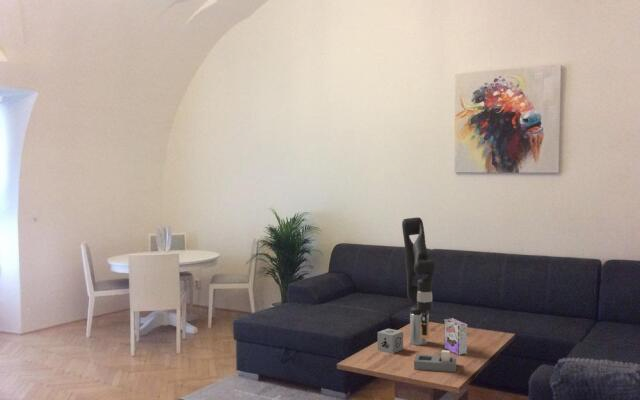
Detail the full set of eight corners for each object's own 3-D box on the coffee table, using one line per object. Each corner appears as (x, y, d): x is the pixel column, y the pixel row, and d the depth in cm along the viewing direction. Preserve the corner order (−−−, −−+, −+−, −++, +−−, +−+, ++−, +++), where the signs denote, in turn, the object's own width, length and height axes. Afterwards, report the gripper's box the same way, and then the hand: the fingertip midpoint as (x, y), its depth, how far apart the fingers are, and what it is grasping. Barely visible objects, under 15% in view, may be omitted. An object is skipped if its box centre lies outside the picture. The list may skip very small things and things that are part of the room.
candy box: (443, 348, 320) (443, 318, 319) (453, 347, 322) (452, 317, 321) (458, 355, 307) (458, 324, 306) (467, 354, 309) (467, 323, 308)
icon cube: (388, 345, 326) (388, 328, 326) (403, 349, 319) (402, 331, 319) (377, 350, 319) (377, 332, 318) (392, 353, 312) (392, 335, 311)
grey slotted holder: (416, 361, 298) (416, 346, 298) (456, 364, 293) (456, 348, 293) (414, 369, 287) (414, 353, 286) (455, 372, 281) (455, 355, 281)
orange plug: (421, 335, 293) (421, 322, 293) (429, 336, 292) (429, 322, 292) (420, 338, 289) (420, 324, 289) (428, 338, 288) (428, 324, 288)
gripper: (418, 296, 297) (418, 329, 298) (415, 302, 284) (415, 337, 284) (433, 297, 295) (433, 330, 296) (431, 303, 282) (431, 338, 282)
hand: (424, 333), depth 290 cm, fingers closed on orange plug, 4 cm apart
